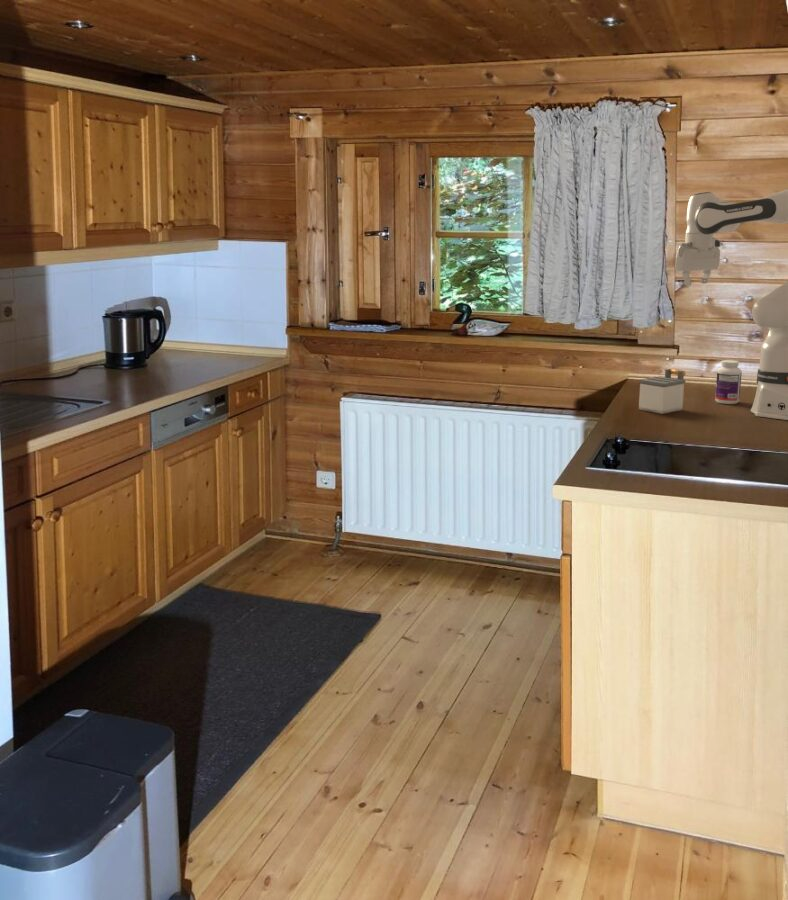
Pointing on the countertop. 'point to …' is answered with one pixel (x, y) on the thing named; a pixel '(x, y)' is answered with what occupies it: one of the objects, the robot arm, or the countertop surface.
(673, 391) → the tub
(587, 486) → the countertop surface
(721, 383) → the pill bottle
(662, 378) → the lid
